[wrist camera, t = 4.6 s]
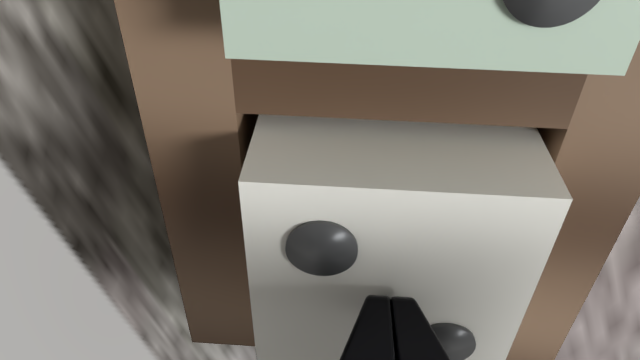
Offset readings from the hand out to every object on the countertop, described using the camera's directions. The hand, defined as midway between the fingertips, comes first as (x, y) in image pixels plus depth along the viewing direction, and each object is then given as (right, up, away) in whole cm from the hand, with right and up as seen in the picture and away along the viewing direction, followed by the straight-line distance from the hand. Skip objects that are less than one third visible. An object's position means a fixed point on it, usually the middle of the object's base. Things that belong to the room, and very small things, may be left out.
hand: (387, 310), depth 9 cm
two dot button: (0, +2, +2) cm, 3 cm away
